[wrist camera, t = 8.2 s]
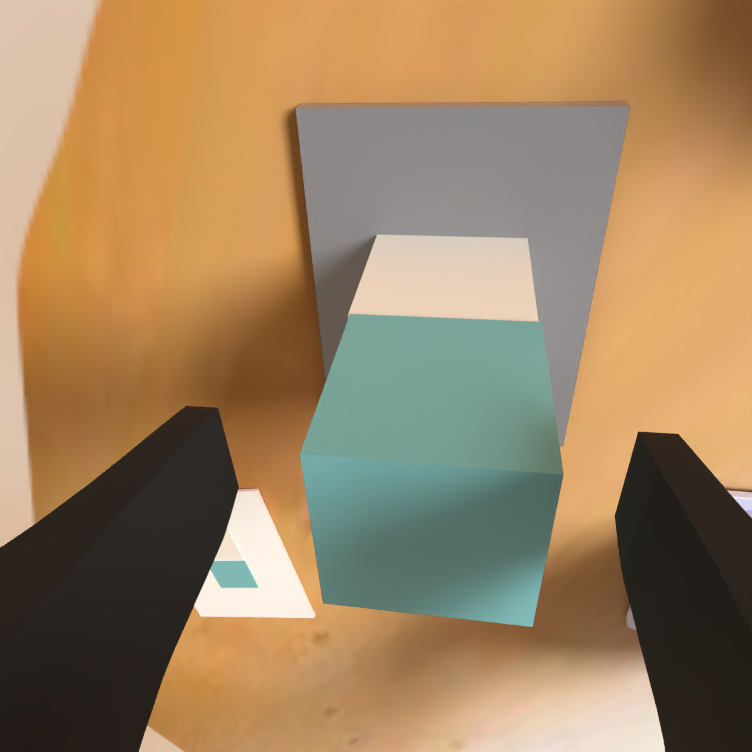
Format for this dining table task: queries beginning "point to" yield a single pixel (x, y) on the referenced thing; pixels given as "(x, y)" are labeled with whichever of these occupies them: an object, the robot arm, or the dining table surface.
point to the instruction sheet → (252, 569)
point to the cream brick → (448, 278)
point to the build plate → (465, 199)
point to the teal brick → (435, 468)
